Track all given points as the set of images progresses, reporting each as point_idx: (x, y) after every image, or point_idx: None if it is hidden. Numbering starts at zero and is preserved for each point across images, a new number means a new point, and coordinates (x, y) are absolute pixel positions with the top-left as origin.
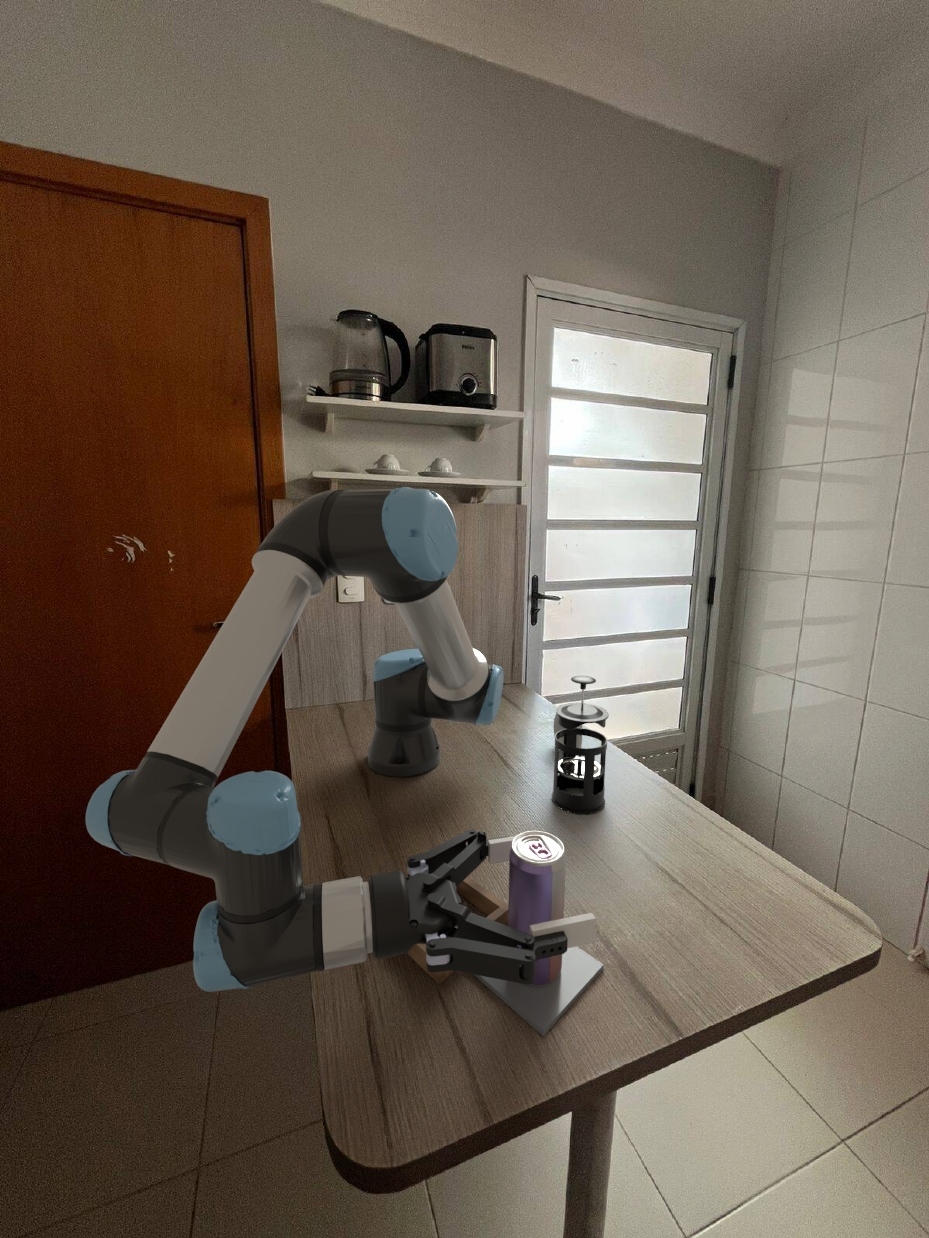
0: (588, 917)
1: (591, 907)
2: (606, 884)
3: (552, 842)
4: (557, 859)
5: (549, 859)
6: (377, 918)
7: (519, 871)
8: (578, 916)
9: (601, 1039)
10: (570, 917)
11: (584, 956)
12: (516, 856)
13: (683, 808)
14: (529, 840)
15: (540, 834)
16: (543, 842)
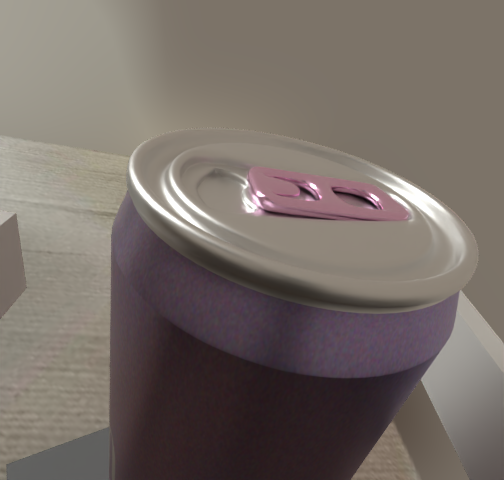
0: (463, 302)
1: (99, 323)
2: (71, 275)
3: (274, 151)
4: (413, 186)
5: (407, 203)
6: None
7: (411, 380)
8: (469, 321)
9: (375, 476)
10: (482, 342)
11: None
12: (406, 306)
13: (32, 144)
14: (199, 190)
15: (183, 147)
16: (260, 165)
